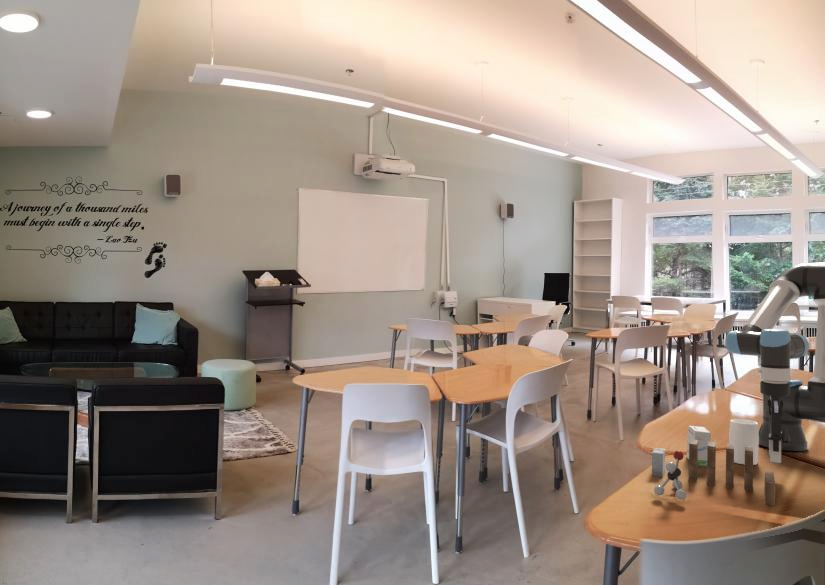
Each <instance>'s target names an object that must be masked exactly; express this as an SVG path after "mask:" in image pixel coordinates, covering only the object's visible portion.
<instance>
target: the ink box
mask: <svg viewBox="0 0 825 585" xmlns="http://www.w3.org/2000/svg"><path fill="white" fill-rule="evenodd" d="M687 428H688V429H687V440H686V442H687V444H686V445H687V446H686V459H687V460H688V461H689V443H690V440H691V439H692V440H698V467H704V466H705V467H706V468H707V451H708V442H711V440H712V439H711V438H712V437H711V435H712V434H711V432H710V430H708V429H707V428H706V427H704V426H696V425H688V426H687Z"/></svg>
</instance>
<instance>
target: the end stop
mask: <svg viewBox="0 0 825 585" xmlns="http://www.w3.org/2000/svg"><path fill="white" fill-rule="evenodd" d="M665 465H666V448H661V447H656V446H655V447H654V448H653V451H652V452H651V476H653V477H658V478H664V475H665V471H666V468H665Z"/></svg>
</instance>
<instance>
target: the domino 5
mask: <svg viewBox="0 0 825 585" xmlns="http://www.w3.org/2000/svg"><path fill="white" fill-rule="evenodd" d="M764 499H765V501H764V502H765V505H766V506H772V507H776V480H775V475H774V472H771V471H764Z"/></svg>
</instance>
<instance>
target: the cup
mask: <svg viewBox="0 0 825 585" xmlns="http://www.w3.org/2000/svg"><path fill="white" fill-rule="evenodd" d="M729 422H730V423H729V431H728V432H729V434H728V436H729V437H728V444H732V445H734V464H735V463H736V464H739V465H744V466H745V446H749V447H753V466H756V465H757V464H758V463H759V462H758V461H759V448H760V447H759V446H760V444H759V430H760V429H759V423H758V422H757V421H755V420H750V419H742V418H741V419H740V418H732V419H730V421H729Z"/></svg>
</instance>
